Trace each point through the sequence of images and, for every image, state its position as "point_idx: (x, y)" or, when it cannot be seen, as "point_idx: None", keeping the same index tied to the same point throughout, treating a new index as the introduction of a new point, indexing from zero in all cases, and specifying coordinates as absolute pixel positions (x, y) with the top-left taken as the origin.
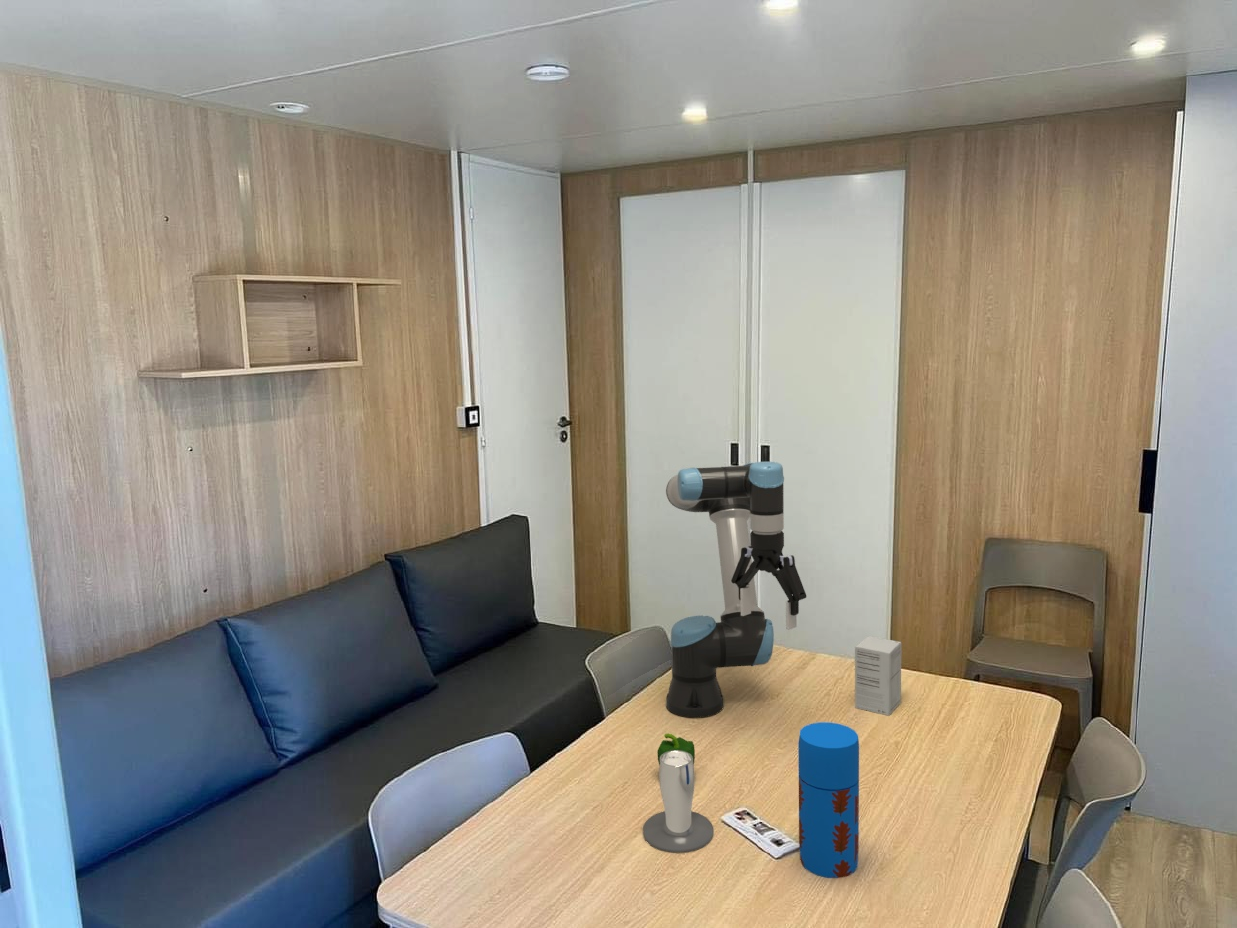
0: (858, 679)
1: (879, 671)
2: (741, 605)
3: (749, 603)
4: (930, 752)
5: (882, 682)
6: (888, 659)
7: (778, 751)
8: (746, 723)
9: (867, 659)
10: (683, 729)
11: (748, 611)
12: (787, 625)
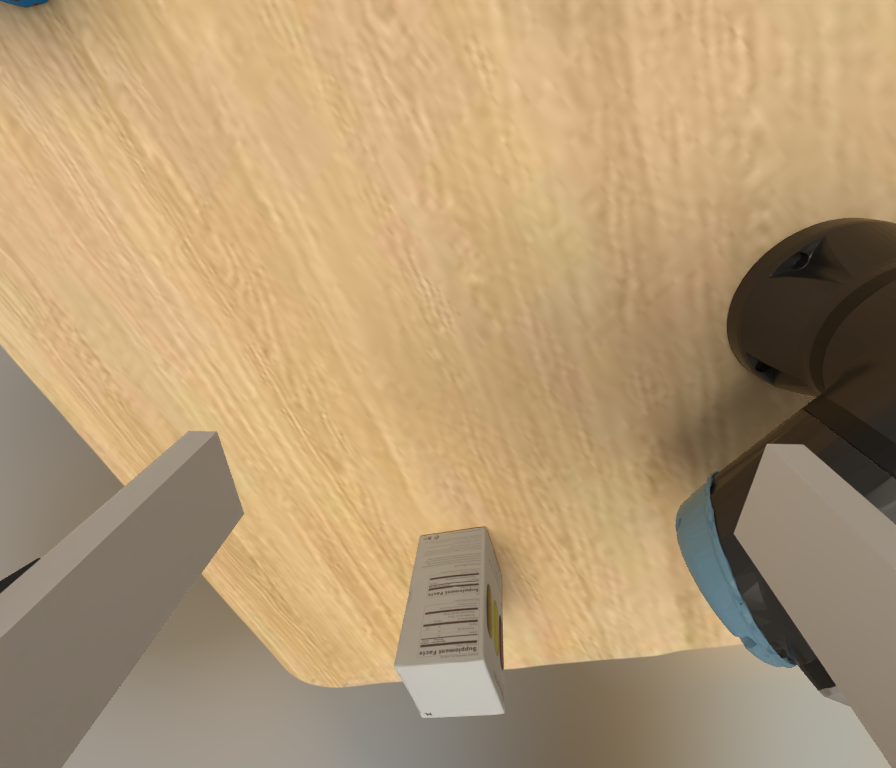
0: (476, 580)
1: (425, 613)
2: (883, 529)
3: (808, 617)
4: (276, 472)
5: (422, 591)
6: (399, 649)
7: (468, 270)
8: (625, 327)
9: (450, 633)
10: (763, 164)
11: (758, 528)
12: (176, 453)
